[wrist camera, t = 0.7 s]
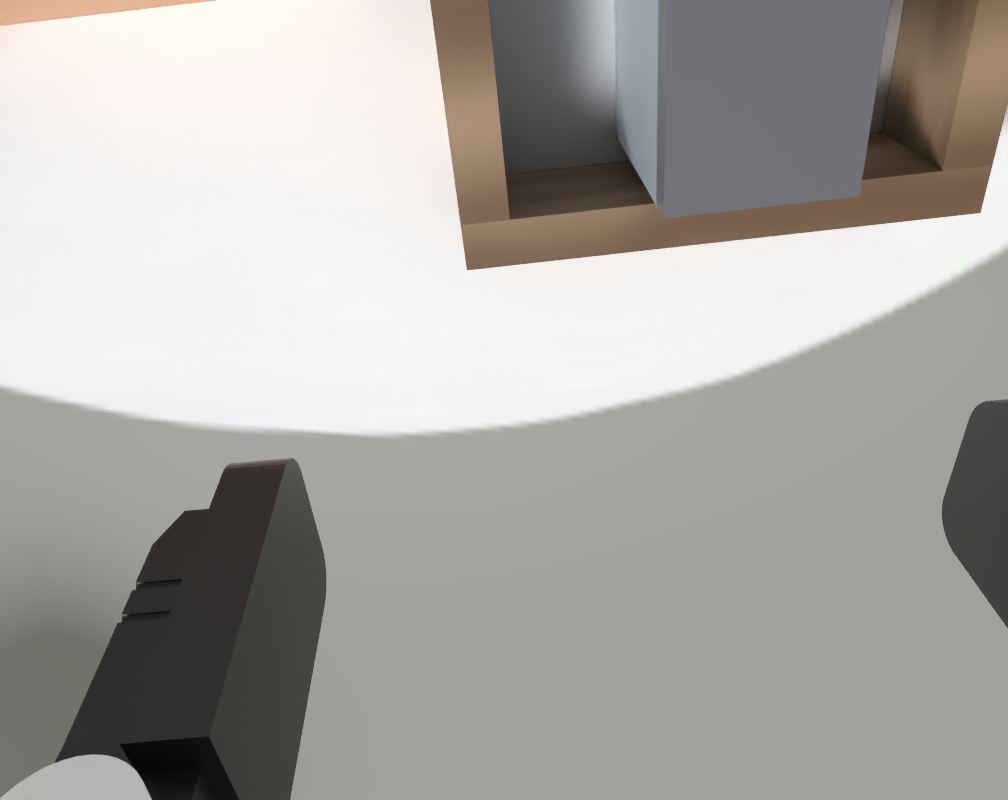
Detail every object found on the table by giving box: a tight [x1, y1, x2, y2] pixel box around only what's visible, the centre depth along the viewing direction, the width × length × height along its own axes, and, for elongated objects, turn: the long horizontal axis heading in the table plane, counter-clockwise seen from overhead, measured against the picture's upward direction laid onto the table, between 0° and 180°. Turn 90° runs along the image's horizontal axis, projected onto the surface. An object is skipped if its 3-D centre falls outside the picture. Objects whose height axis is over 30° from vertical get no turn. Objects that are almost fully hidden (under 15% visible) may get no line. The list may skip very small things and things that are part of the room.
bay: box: [430, 0, 1008, 270], centre depth 25 cm, size 14×17×4 cm
